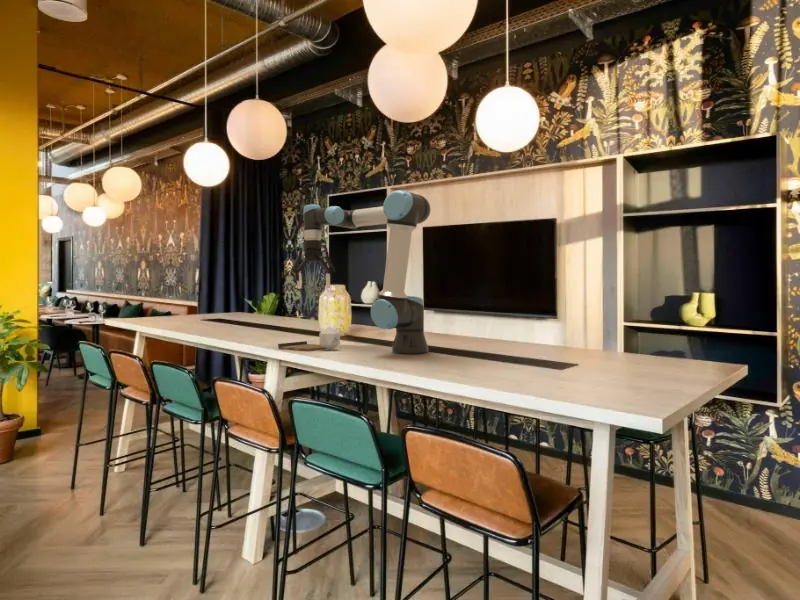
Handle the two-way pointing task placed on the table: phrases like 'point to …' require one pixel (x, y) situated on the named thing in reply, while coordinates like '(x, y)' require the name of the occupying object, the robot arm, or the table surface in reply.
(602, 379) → the table surface
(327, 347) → the die
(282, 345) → the board
